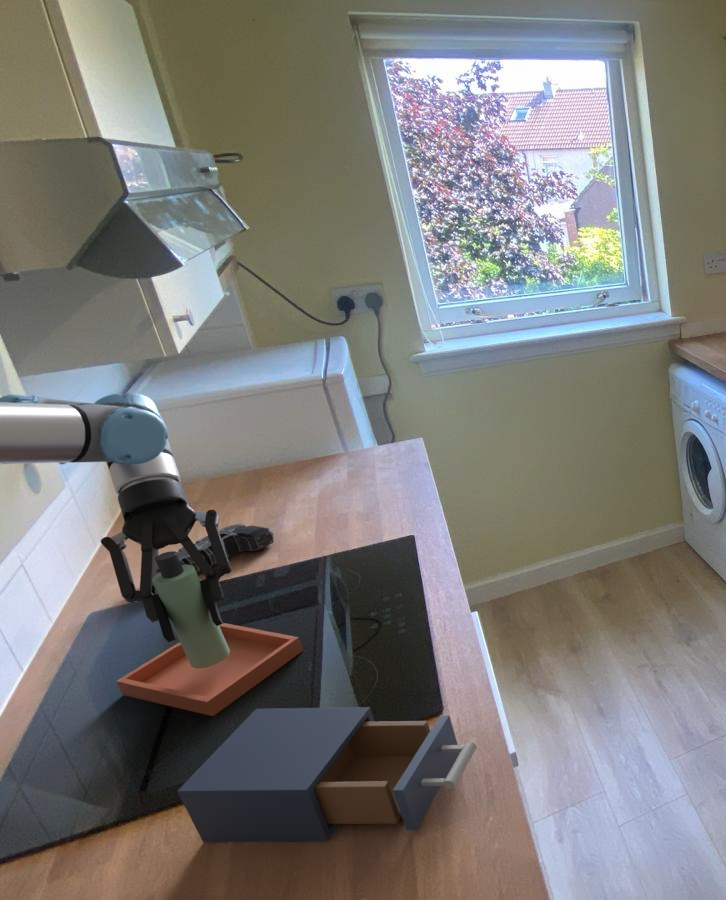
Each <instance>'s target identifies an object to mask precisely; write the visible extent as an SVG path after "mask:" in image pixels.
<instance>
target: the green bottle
mask: <svg viewBox="0 0 726 900" xmlns="http://www.w3.org/2000/svg"><path fill="white" fill-rule="evenodd" d="M174 551H175V550H174ZM174 551H165V552H163V553H160V554H158V556H157V557H155V561H156V563H157V566H158V568H159V570H160V573H158V574H157V575H155V576H154V577H153V579H152V582H153V584H154V586H155V589H156V594H158V595H159V597H160V600H161V602H162V604H163V606H164V608H165V610H166V613H167V615H168V617H169V620H170V624H171V627H172V629H173V630H174V632H175V634H176V636H177V639H178V641H179V642H180V643H181V645H182V647H183V650H184V652H185V654H186V656H187V658H188V661H189V663H190V665H191V667H193V668H206V667H209V666H212V665H215V664H217V663H219V662H221V661H222V660H224V659H225V658H226V657H227V656H228V655H229V653H230V650H229V647H228V645H227V643H226V640H225V638H224V636H223V633H222V631H221V629H220V626H219V625H218V626H216V625H215V624H214V622H213V621H212V618H211V615H210V611H209V608H208V605H207V602H206V599H205V596H204V593H203V589H202V586H201V583H200V581H201V579H200V577H199V574H197V572H196V570H195V568H194V566H192V565H181V563H180V560H179V558H178V556H177V554H176V552H177V551H176V552H174Z"/></svg>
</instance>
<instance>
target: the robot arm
mask: <svg viewBox="0 0 726 900" xmlns="http://www.w3.org/2000/svg"><path fill="white" fill-rule="evenodd" d="M168 434H169V431H168V427H167V425H166V424H165V422H164V419H163V417H162V416H161V414H160V411H159V409H158V408H157V405H156V404H155V402H154V400H153V399H151V398H150V397H148V396H146V395H144V394H140V393H136V392H127V393H118V392H117V393H111V394H108V395H106V396H102V397H101V398H98V399H97V400H96V401H95V402H94V403H92V402H91V403H90V402H83V401H74V400H73V401H72V400H63V399H56V398H51V397H43V396H37V395H34V394H33V395H22V394H6V395H4V396H1V397H0V465H23V464H53V463H54V464H55V463H56V464H58V463H106V465H107V468H108V472H109V475H110V479H111V481H112V485H113V488H114V491H115V494H116V495H117V502H118V505H119V508H120V511H121V515H122V518H123V526H122V528H121V531H120V532H119V533H117V534H115V535H112V536H111V537H110V536H104V537H102V538H101V539H100V544H101V545H102V546H103V547H104V548H105V549H106V550H107V551H108V552H109V556H110V559H111V563H112V567H113V570H114V573H115V577H116V580H117V583H118V588H119V591H120V595H121V597H122V598H123V599H124V600H125V601H126V602H128V603H129V604H133V603H135V602H141V603H142V606H143V609H144V612H145V615H146V618H147V619H148V620H150V621H151V622H152V623H154V622H157V621H158V624H159V627H160V630H161V633H162V636H163V639H164V640H166V641H167V643H170V642H173V641H176V637H175V634H174V631H173V630H174V629H173V626H172V623H171V621H170V619H169V617H168V615H167V613H166V610H165V608H164V606H163V604H162V602H161V600H160V597H159V595H158V593H157V591H156V589H155V586H154V584H153V582H152V579H153V577H154V576H155V575H156V572H157V563H156V561H155V557H157V556H158V555H159V550H161V549H163V548H165V547H167V546H173V545H179V544H180V545H181V546H182V547H184V549H185V550H186V551H187V553H188V554H189V555H190V557H191V558H192V559H193V561H194V562H195V563H196V565H197V566H198V567H199V569H200V570H201V573H202V575H203V576H204V577H205V579H200V583H201V586H202V589H203V593H204V596H205V599H206V602H207V605H208V608H209V611H210V615H211V618H212V621H213V622H214V624H215V625H216V626H218V625H221V624H223V623H224V622H223V620H222V617H221V614H220V611H219V608H218V604H217V602H220V601H223V600H224V597H225V596H224V595H225V594H224V591H223V589H222V585H221V583H220V579H221V578H222V577H223V576H225V575H228V574H230V573H232V567H231V564H230V559H229V558H228V557H227V554H226V551H225V549H224V546H223V543H222V540H221V537H220V534H219V531H220V530H219V524H220V516H219V515H218V513H217V511H216V510H215V509H208V510H207V511H205V512H204V511H203V512H196V511H195V510H194V509H193V508H191V505H190V504H189V500H188V497H187V493H186V491H185V487H184V485H183V483H181V482H182V479H181V476H180V473H179V469H178V467H177V464H176V461H175V458H174V455H173V452H172V448H171V445H170V442H169V435H168ZM197 521H198V522H199V524H200V525H201V527H203V528H205V531H206V533H207V536H208V537H209V540H210V543H211V546H212V549H213V552H214V555H215V558H216V561H217V564H216V565H217V566H216V565H215V566H214V567H213V568H212V567H211V566H210V565H209V564H208V562H207V561H206V560H205V558H204V557H203V556H202V554H201V553H200V551H199V550H198V549H197V547H196V546H195V545H194V544H195V543H194V542H193V541H192V540H191V538H190V536H189V534H190V533H191V531H192V529H193V528H194V526H195V524H196V522H197ZM128 539H129V540H131V541H133V542H135V543H136V544H138V545H140V551H141V560H140V561H141V562H140V579H139V589H136V585H135V582H134V578H133V575H132V572H131V568H130V563H129V562H128V558H127V555H126V552H124V550H125V549H126V548H127V546H128V545H127V540H128Z"/></svg>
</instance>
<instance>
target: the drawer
mask: <svg viewBox="0 0 726 900" xmlns="http://www.w3.org/2000/svg"><path fill="white" fill-rule="evenodd" d="M476 750H477V744H476V743H475V742H474V741H469V740H468V741H467V742H465V744H458V741H457V737H456V734H455V730H454V727H453V724H452V720H451V716H450V715H449V714H446V715H445V714H444V715H443V714H442V715H439V717H438V719H436V721H435V723H434V724H433V725H432V727H431V729H430V725H429V722H428V721H427V720H397V721H396V720H395V721H394V720H393V721H390V720H389V721H388V720H387V721H385V720H383V721H375V722H363V724H362V725H361V726H360V728H359V729H358V730H357V732H356V733H355V734H354V736H353V737H352V738H351V740H350V741H349V742H348V744H347V745H346V746H345V748H344V749H343V750H342V752H341V753H340V754H339V756H338V757H337V758H336V760H335V761H334V762H333V763H332V765H331V766H330V767H329V769H328V770H327V771H326V773H325V774H324V775H323V777H322V778H321V779H320V781H319V782H318V783H317V785H316V786H315V787H314V789H313V791H314V793H315V796H316V798H317V800H318V803H319V805H320V808H321V810H322V813H323V815H324V818H325V820H326V823H327V824H339V825H346V824H347V825H349V824H350V825H352V824H353V825H354V824H355V825H357V824H359V825H361V824H363V825H364V824H365V825H366V824H399V821H400V820H402V822H403V825H404V827H405V830H406V831H417V830H418V828H419V827H420V825H421V823H422V821H423V819H424V817H425V815H426V814H427V812H428V810H429V809H430V808H431V804H433V801H434V800H435V798H436V796H437V795H438V793H439V791H440V790H441V787H444V789H446V790H450V791H451V790H454V789H455V788H456V787H457V784H458V783H459V781H460V779H461V777H462V776H463V774H464V772H465V770H466V768H467V766H468V764H469V763H470V761H471V758H472V756H473V755H474V753H475V751H476Z"/></svg>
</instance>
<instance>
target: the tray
mask: <svg viewBox="0 0 726 900" xmlns="http://www.w3.org/2000/svg"><path fill="white" fill-rule="evenodd" d="M222 623H223V624H221V625H219V626H220V629H221V631H222V633H223V636H224V638H225V640H226V643H227V645H228V647H229V650H230V653H229V655H228V656H227V657H226V658H225V659H224V660H222V661H221V662H219V663H217V664H215V665H212V666H209V667H206V668H193V667H191V665H190V663H189V661H188V658H187V656H186V654H185V652H184V650H183V647H182V645H181V643H180V641H179V642H177V643H175V644H174V645H173V646H171V647H169V648H168V649H166V650H164V651H163V652H161V653H160V654H158V655H156V656H155V657H153V658H151V659H150V660H149V661H146V662H145V663H143V664H141V665H139V666H138V667H137V668H135V669H133V670H132V671H130V672H128V673H126V674H125V675H123V676H122V677H120V678H118V679H117V680H116V682H115V683H116V685H117V687H118V688H119V691H120V692H121V694H122V695H123V696H125V697H129V698H134V699H138V700H143V701H147V702H151V703H156V704H159V705H163V706H167V707H171V708H176V709H179V710H185V711H189V712H193V713H196V714H197V713H198V714H201V715H206V716H210V717H215V716H216V715H217V714H219V713H220V712H221V711H223V710H224V709H225V708H227V707H229V706H230V705H231V704H232V703H233V702H235V701H237V700H238V699H239V698H240V697H242V696H243V695H245V694H246V693H248V692H249V691H250V690H251V689H253V688H254V687H255V686H257V685H258V684H260V683H261V682H262V681H264V680H266V678H268V677H269V676H271V675H272V674H273V673H275V672H276V671H278V670H279V669H280V668H282V667H283V666H284V665H285V664H287V663H288V662H290V661H291V660H293V659H294V658H295V657H296V656H298V655H300V654H301V653H302V652H303V651H304V648H303V646H302V643H301V641H300V638H299V637H298V636H295V635H288V634H283V633H279V632H278V633H277V632H272V631H268V630H267V631H266V630H261V629H256V628H253V627H247V626H243V625H242V626H241V625H235V624H231V623H225V622H222Z"/></svg>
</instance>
